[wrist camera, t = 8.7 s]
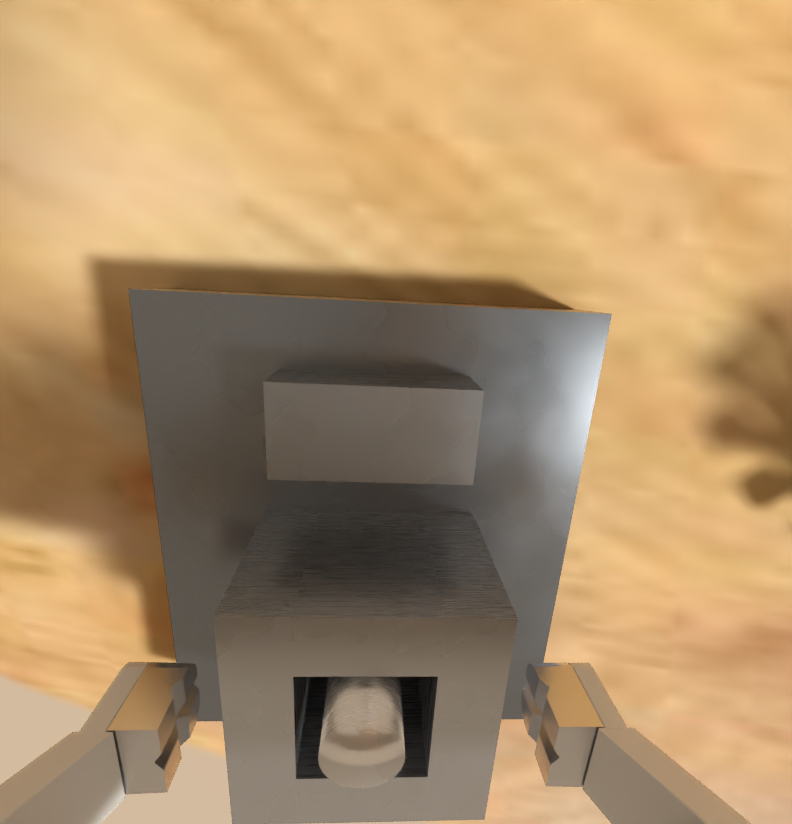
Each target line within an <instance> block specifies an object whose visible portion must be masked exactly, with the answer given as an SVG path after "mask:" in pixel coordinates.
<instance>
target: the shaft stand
mask: <svg viewBox="0 0 792 824" xmlns="http://www.w3.org/2000/svg"><path fill="white" fill-rule="evenodd" d="M128 290H129V297H130V305H131V313H132V321H133V328H134V336H135V344H136V352H137V360H138V367H139V375H140V383H141V391H142V398H143V406H144V414H145V422H146V430H147V437H148V445H149V453H150V461H151V468H152V476H153V484H154V492H155V500H156V507H157V515H158V523H159V531H160V538H161V546H162V554H163V562H164V570H165V577H166V585H167V593H168V601H169V608H170V616H171V624H172V632H173V639H174V647H175V655H176V663H193V664H196V668H197V674H198V675H197V678H196V680H195V682H194V685H195V686H196V687H197V688H198V689H199V691H200V705H199V711H198V715H197V720H196V721H223V718H222V707H221V697H220V686H219V675H218V664H217V654H216V643H215V632H214V621H213V616H214V614H215V612H216V610H217V608H218V606H219V604H220V602H221V600H222V598H223V596H224V594H225V592H226V590H227V588H228V585H229V583H230V581H231V579H232V577H233V575H234V573H235V571H236V569H237V567H238V565H239V563H240V561H241V559H242V557H243V555H244V553H245V551H246V549H247V547H248V545H249V543H250V541H251V539H252V537H253V535H254V533H255V531H256V529H257V527H258V525H259V523H260V521H261V519H262V517H263V515H264V513H265V511H266V510H294V511H340V512H385V513H431V514H473V515H474V517H475V519H476V522H477V524H478V526H479V529H480V531H481V533H482V536H483V538H484V540H485V543H486V545H487V548H488V550H489V552H490V555H491V557H492V559H493V562H494V564H495V566H496V569H497V571H498V573H499V576H500V578H501V580H502V583H503V585H504V588H505V590H506V592H507V595H508V597H509V599H510V602H511V604H512V606H513V609H514V611H515V613H516V616H517V618H518V621H517V627H516V633H515V639H514V645H513V651H512V657H511V663H510V669H509V675H508V681H507V687H506V693H505V699H504V705H503V711H502V717H501V719H523V714H522V704H521V697H522V690H523V688H524V687H525V686H526V685H527V684H528V681H527V678H526V675H525V674H526V669H527V666H528V665H529V663H543V661H544V656H545V651H546V646H547V641H548V636H549V631H550V625H551V620H552V615H553V610H554V605H555V600H556V595H557V590H558V585H559V580H560V575H561V570H562V564H563V559H564V554H565V549H566V544H567V539H568V534H569V529H570V524H571V519H572V514H573V508H574V503H575V498H576V493H577V488H578V483H579V478H580V473H581V468H582V463H583V458H584V453H585V447H586V442H587V437H588V432H589V427H590V422H591V417H592V412H593V407H594V402H595V397H596V391H597V386H598V381H599V376H600V371H601V366H602V361H603V356H604V351H605V346H606V341H607V335H608V330H609V325H610V320H611V315H612V314H608V313H599V312H591V311H582V310H571V309H551V308H532V307H513V306H494V305H475V304H456V303H437V302H417V301H398V300H379V299H360V298H341V297H322V296H303V295H283V294H264V293H245V292H226V291H207V290H188V289H169V288H167V289H128ZM318 762H319V766H320V768H321V770H322V772H323V773H324V775H325V776H326V777H327V778H329V779H330V780H331V781H333V782H335V783H337V784H339V785H342V786H345V787H350V788H370V787H375V786H378V785H381V784H383V783H386V782H387V781H389V780H391V779H392V778H393V777H395V776H396V775H397V774H398V773H399V771H400V770H401V769H402V767H403V765H404V762H405V742H404V726H403V709H402V693H401V677H328V682H327V690H326V698H325V706H324V715H323V723H322V731H321V739H320V747H319V755H318Z"/></svg>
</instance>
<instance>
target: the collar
mask: <svg viewBox="0 0 792 824" xmlns="http://www.w3.org/2000/svg"><path fill="white" fill-rule="evenodd" d="M213 621H214V632H215V643H216V654H217V664H218V675H219V686H220V697H221V707H222V718H223V729H224V740H225V750H226V761H227V772H228V783H229V793H230V804H231V814H232V824H297V823H298V824H299V823H344V822H393V821H441V820H484V819H485V813H486V807H487V801H488V795H489V789H490V783H491V777H492V771H493V765H494V759H495V753H496V747H497V741H498V735H499V729H500V723H501V717H502V711H503V705H504V699H505V693H506V687H507V681H508V675H509V669H510V663H511V657H512V651H513V645H514V639H515V633H516V627H517V621H518V618H517V616H516V613H515V611H514V609H513V606H512V604H511V602H510V599H509V597H508V595H507V592H506V590H505V588H504V585H503V583H502V580H501V578H500V576H499V573H498V571H497V569H496V566H495V564H494V562H493V559H492V557H491V555H490V552H489V550H488V548H487V545H486V543H485V540H484V538H483V536H482V533H481V531H480V529H479V526H478V524H477V522H476V519H475V517H474V515H473V514H431V513H385V512H340V511H294V510H266V511H265V513H264V515H263V517H262V519H261V521H260V523H259V525H258V527H257V529H256V531H255V533H254V535H253V537H252V539H251V541H250V543H249V545H248V547H247V549H246V551H245V553H244V555H243V557H242V559H241V561H240V563H239V565H238V567H237V569H236V571H235V573H234V575H233V577H232V579H231V581H230V583H229V585H228V588H227V590H226V592H225V594H224V596H223V598H222V600H221V602H220V604H219V606H218V608H217V610H216V612H215V614H214V616H213ZM328 677H401V693H402V709H403V726H404V742H405V762H404V765H403V767H402V769H401V770H400V771H399V773H398V774H397V775H396V776H395V777H393V778H392V779H391V780H389V781H387V782H386V783H383V784H381V785H378V786H375V787H370V788H350V787H345V786H342V785H339V784H337V783H335V782H333V781H331V780H330V779H329V778H327V777H326V776H325V775H324V773H323V772H322V770H321V768H320V766H319V762H318V755H319V747H320V739H321V731H322V723H323V715H324V706H325V698H326V690H327V682H328Z"/></svg>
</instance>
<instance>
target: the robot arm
mask: <svg viewBox="0 0 792 824" xmlns="http://www.w3.org/2000/svg"><path fill="white" fill-rule="evenodd" d="M197 675H198V674H197V668H196V664H193V663H161V662H129V663H127V664H126V665H125V666H124V667H123V668H122V669H121V670H120V672H119V673H118V675H117V676H116V678H115V679H114V681H113V682H112V684H111V685H110V687H109V688H108V690H107V691H106V693H105V694H104V696H103V697H102V699H101V700H100V702H99V703H98V705H97V706H96V708H95V709H94V711H93V712H92V714H91V715H90V717H89V718H88V720H87V721H86V723H85V724H84V726H83V727H82V728H81V730H80V731H79V732H72V733H70V734H69V735H68V736H66V737H65V738H63V739H62V740H61V741H59V742H58V743H57V744H55V745H54V746H53V747H51V748H50V749H49V750H47V751H46V752H44V753H43V754H42V755H40V756H39V757H38V758H36V759H35V760H34V761H32V762H31V763H29V764H28V765H27V766H26V767H24V768H23V769H21V770H20V771H19V772H17V773H16V774H14V775H13V776H12V777H11V778H9V779H8V780H6V781H5V782H4V783H2V784H1V785H0V824H101V823H102V821H104V819H105V818H106V817H107V816H108V815H109V814H110V813H111V812H112V811H113V810H114V809H115V808H116V807H117V806H118V804H120V802H121V801H122V800H123V799H124V798H125V794H141V793H162V792H167V791H168V789H169V786H170V784H171V781H172V779H173V777H174V775H175V772H176V770H177V767H178V765H179V763H180V760H181V751H180V746H181V745H182V744H183V743H184V742H185V741H186V740H187V739H188V738H189V737H190V736H191V734H192V731H193V729H194V726H195V723H196V720H197V715H198V711H199V705H200V691H199V689H198V688H197V687H196V686H195V685H194V682H195V680H196V678H197ZM525 675H526V678H527V681H528V684H527V685H526V686H525V687H524V688H523V690H522V697H521V704H522V714H523V719H524V723H525V726H526V729H527V732H528V734H529V735H530V736H531V737H532V738H533V739H534V740H535V741H536V742H537V745H536V751H535V756H536V759H537V762H538V765H539V768H540V771H541V773H542V776H543V779H544V782H545V785H546V786H563V787H583V790H584V791H585V793H586V794H587V795H588V796H589V797H590V798H591V800H592V801H593V802H594V803H595V804H596V806H597V807H598V808H599V809H600V810H601V811H602V813H603V814H604V815H605V816H606V817H607V819H608V820H609V821H610V822H611V823H612V824H751V823H750V822H749V821H748V820H746V819H745V818H744V817H743V816H741V815H740V814H739V813H738V812H737V811H735V810H734V809H733V808H732V807H730V806H729V805H728V804H727V803H725V802H724V801H723V800H722V799H721V798H719V797H718V796H717V795H716V794H714V793H713V792H712V791H711V790H709V789H708V788H707V787H706V786H705V785H703V784H702V783H701V782H700V781H698V780H697V779H696V778H695V777H694V776H692V775H691V774H690V773H689V772H687V771H686V770H685V769H684V768H682V767H681V766H680V765H679V764H678V763H676V762H675V761H674V760H673V759H671V758H670V757H669V756H668V755H667V754H665V753H664V752H663V751H662V750H660V749H659V748H658V747H657V746H655V745H654V744H653V743H652V742H651V741H649V740H648V739H647V738H646V737H644V736H643V735H642V734H641V733H639V732H638V731H637V730H636V729H635V728H628V727H627V726H626V724H625V722H624V721H623V719H622V717H621V715H620V714H619V712H618V710H617V708H616V707H615V705H614V703H613V701H612V700H611V698H610V696H609V695H608V693H607V691H606V689H605V688H604V686H603V684H602V682H601V681H600V679H599V677H598V675H597V674H596V672H595V670H594V669H593V667H592V666H591V665H590V664H589V663H529V665H528V666H527V669H526V674H525Z"/></svg>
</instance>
